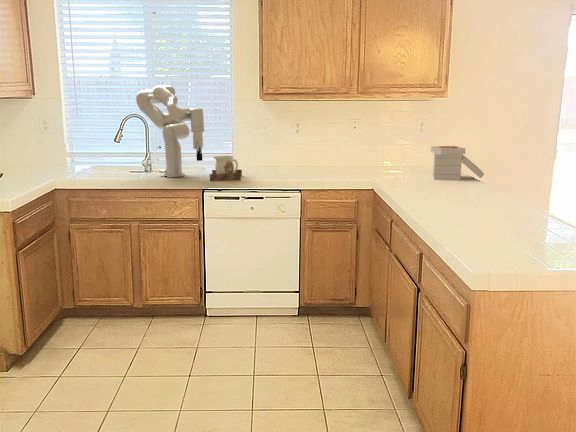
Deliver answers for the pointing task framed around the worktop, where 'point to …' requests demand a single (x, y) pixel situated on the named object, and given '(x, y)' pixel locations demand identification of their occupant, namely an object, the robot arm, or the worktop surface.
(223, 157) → the pitcher
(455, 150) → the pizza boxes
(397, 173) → the worktop surface
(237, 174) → the wooden planks
